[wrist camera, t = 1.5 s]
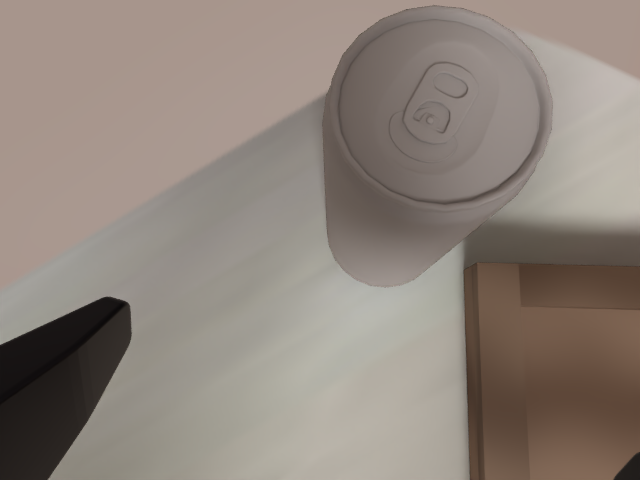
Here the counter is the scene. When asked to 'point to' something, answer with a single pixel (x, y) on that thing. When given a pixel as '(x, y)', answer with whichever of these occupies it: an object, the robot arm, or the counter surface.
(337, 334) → the counter surface
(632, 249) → the counter surface
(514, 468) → the walnut tray
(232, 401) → the counter surface
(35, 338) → the robot arm
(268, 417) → the counter surface
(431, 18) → the beverage can
